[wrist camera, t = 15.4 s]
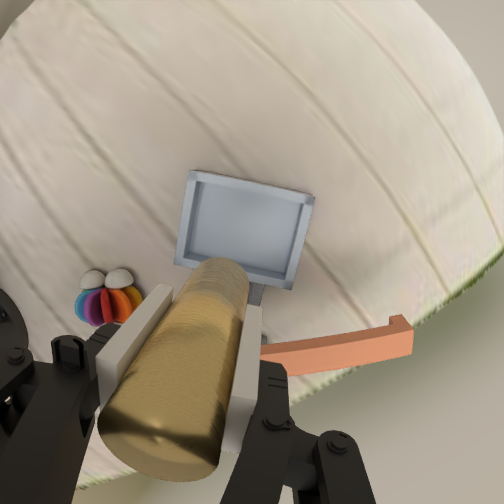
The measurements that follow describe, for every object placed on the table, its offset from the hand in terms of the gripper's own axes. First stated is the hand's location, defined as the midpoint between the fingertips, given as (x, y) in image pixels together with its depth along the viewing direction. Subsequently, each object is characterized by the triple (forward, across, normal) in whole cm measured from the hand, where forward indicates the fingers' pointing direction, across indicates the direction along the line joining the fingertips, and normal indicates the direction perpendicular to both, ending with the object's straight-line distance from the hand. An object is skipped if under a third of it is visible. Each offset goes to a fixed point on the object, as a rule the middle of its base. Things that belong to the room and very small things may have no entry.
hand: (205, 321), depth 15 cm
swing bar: (+10, +8, -6) cm, 14 cm away
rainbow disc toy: (+25, -16, -13) cm, 32 cm away
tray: (+24, 0, 0) cm, 24 cm away
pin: (+5, 0, 0) cm, 5 cm away
